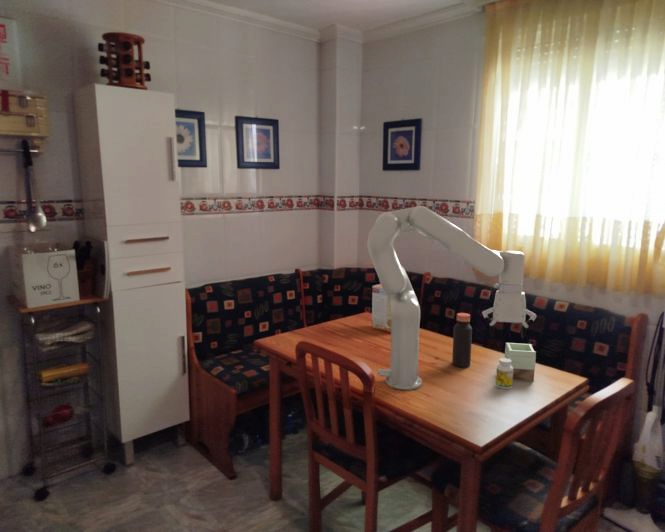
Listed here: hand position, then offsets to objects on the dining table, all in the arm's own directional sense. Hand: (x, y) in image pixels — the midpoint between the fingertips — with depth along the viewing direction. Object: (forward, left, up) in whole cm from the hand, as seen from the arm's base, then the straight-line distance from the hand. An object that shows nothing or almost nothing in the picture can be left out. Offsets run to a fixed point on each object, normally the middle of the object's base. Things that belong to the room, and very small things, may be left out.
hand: (507, 337), depth 166 cm
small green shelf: (+6, +11, -14) cm, 19 cm away
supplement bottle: (0, 0, -18) cm, 18 cm away
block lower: (+6, +11, -18) cm, 22 cm away
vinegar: (-14, +17, -18) cm, 28 cm away
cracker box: (-48, +53, -18) cm, 74 cm away
